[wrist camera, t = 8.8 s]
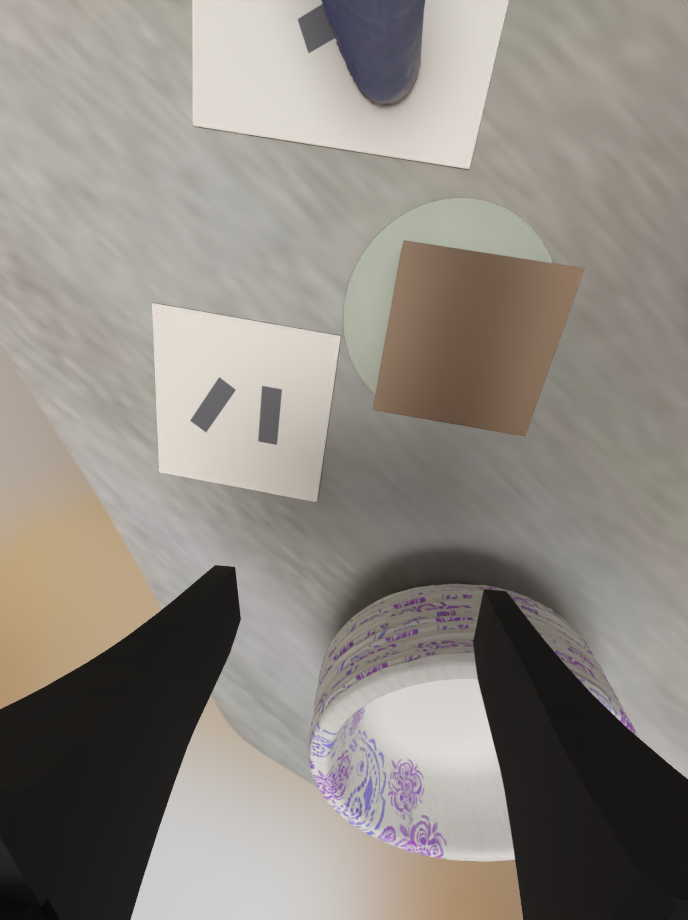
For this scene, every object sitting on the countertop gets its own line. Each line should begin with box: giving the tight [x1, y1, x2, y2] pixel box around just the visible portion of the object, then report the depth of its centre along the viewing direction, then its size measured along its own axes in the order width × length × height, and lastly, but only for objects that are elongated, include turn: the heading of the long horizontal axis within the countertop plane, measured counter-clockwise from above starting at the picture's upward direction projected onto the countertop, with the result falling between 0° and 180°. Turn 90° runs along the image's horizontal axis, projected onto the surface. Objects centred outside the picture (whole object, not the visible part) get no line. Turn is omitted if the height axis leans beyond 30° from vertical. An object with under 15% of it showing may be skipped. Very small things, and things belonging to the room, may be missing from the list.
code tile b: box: [152, 303, 341, 502], centre depth 21 cm, size 9×9×1 cm
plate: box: [343, 198, 553, 394], centre depth 18 cm, size 9×9×1 cm
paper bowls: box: [308, 584, 637, 861], centre depth 23 cm, size 15×15×8 cm
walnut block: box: [373, 240, 585, 436], centre depth 15 cm, size 5×5×6 cm
